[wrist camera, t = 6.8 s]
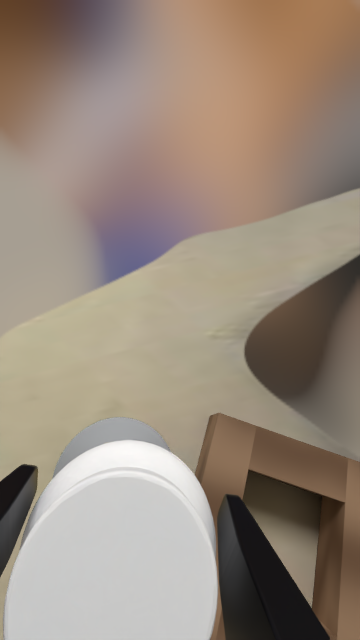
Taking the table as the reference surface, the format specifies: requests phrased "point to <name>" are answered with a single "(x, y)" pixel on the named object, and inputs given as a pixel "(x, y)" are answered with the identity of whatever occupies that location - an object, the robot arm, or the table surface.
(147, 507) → the supplement bottle
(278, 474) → the holder block
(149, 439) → the grey oval disc
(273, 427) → the table surface
